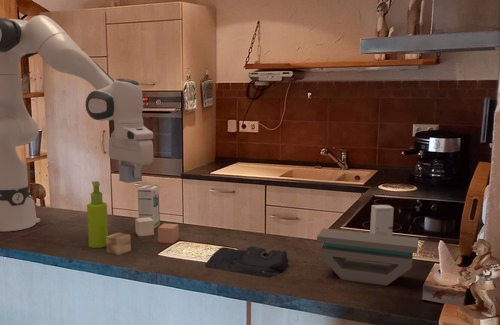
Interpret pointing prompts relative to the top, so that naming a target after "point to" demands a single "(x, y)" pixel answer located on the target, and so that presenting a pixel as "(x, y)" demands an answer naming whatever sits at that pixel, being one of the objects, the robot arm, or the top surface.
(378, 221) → the skincare box
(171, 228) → the terracotta cube
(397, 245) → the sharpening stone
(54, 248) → the top surface
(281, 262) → the crumpled black cloth
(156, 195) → the syrup box
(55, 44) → the robot arm
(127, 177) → the slate-blue cube
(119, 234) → the oak cube
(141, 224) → the cream cube
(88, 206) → the soap dispenser
